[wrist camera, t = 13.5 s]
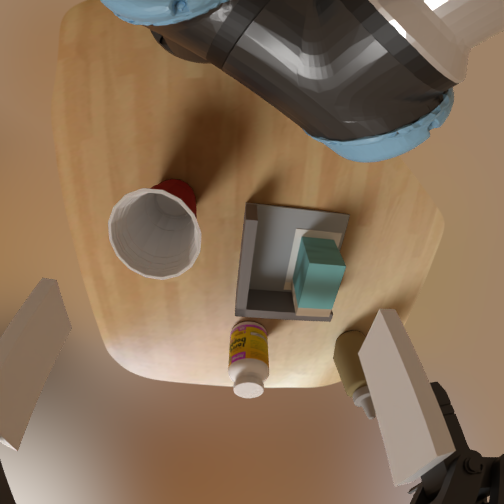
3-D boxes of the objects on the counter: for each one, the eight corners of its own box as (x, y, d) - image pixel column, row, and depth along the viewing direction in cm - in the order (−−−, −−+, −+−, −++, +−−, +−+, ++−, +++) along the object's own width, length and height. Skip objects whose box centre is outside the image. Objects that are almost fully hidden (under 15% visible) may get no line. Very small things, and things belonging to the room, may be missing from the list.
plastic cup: (187, 144, 39) (165, 171, 29) (226, 211, 44) (220, 257, 34) (123, 183, 41) (87, 220, 31) (164, 242, 46) (143, 292, 36)
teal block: (320, 287, 50) (328, 317, 45) (290, 285, 50) (295, 315, 44) (333, 239, 46) (346, 266, 40) (301, 236, 46) (309, 263, 40)
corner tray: (245, 202, 43) (245, 219, 39) (348, 214, 44) (360, 231, 40) (236, 293, 51) (235, 316, 47) (324, 299, 53) (330, 321, 48)
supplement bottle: (245, 314, 54) (245, 373, 43) (274, 330, 56) (279, 388, 45) (223, 334, 57) (219, 392, 46) (251, 349, 59) (252, 405, 48)
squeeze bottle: (330, 356, 61) (347, 432, 45) (328, 330, 57) (348, 412, 41) (368, 348, 60) (392, 421, 45) (369, 321, 56) (398, 399, 40)
